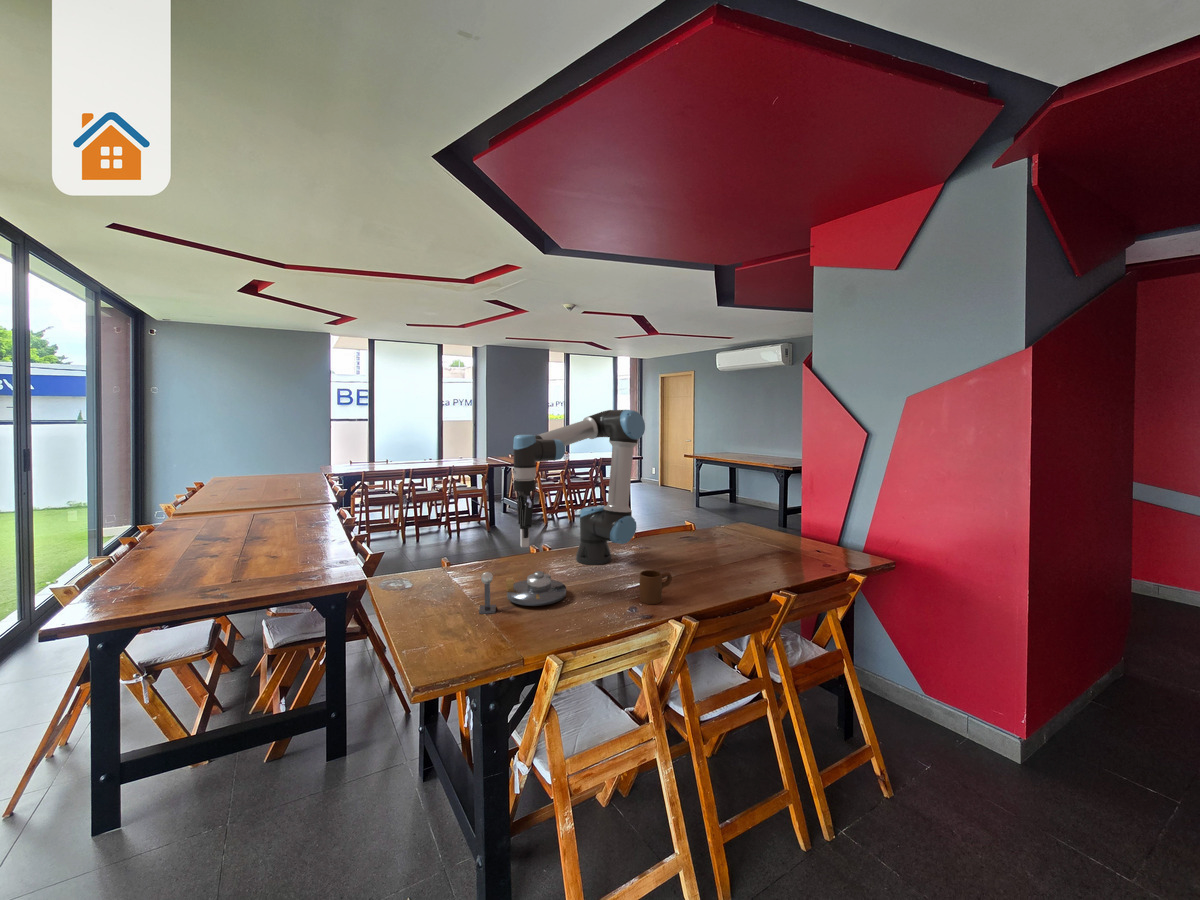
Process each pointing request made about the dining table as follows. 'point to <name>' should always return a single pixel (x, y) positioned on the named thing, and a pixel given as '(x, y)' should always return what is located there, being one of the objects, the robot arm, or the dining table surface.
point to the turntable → (534, 593)
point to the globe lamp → (487, 594)
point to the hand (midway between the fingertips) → (524, 546)
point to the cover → (538, 582)
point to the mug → (652, 586)
